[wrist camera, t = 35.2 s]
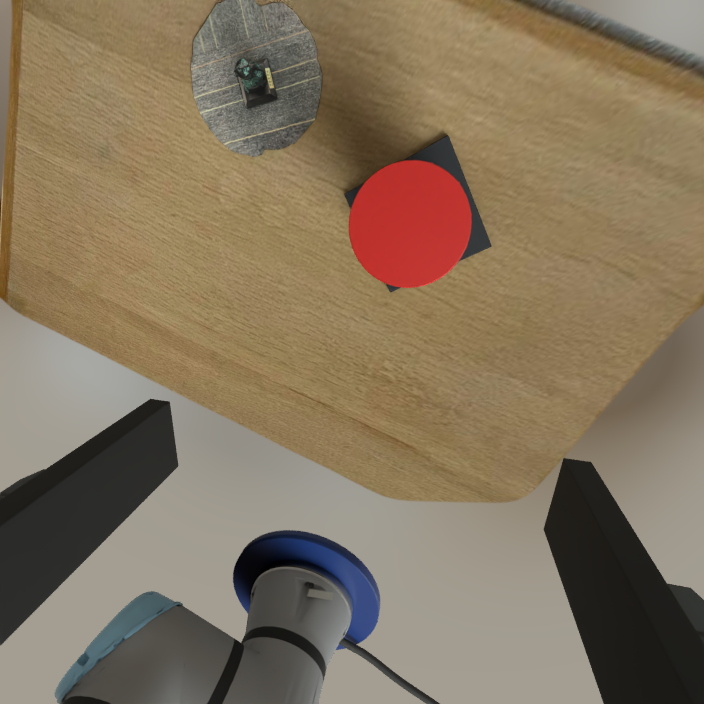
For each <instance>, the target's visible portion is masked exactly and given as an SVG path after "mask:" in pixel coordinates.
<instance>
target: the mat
mask: <svg viewBox="0 0 704 704" xmlns="http://www.w3.org/2000/svg"><path fill="white" fill-rule="evenodd" d="M405 160H420V161H426V162H430V163H431V162H432V163H433V164H435V165H437V166H440V167H441V168H443V169H444V170H446V171H447V172H449V173H450V174H451V175H452V176H453V177H454V178H455V179H456V180H457V181H458V182H460V183H459V184H460V185H461V187H462V188H463V190H464V192H465V194H466V196H467V199H468V202H469V205H470V210H471V213H472V215H471V221H472V224H471V233H470V237H469V241H468V244H467V248H466V249H465V251H464V253H463V255H462V257H461V258H460V260H462V259H465V258H467V257H469V256H471V255H473V254H476V253H478V252H480V251H482V250H484V249H487V248H489V247H491V244H490V241H489V238H488V236H487V233H486V231H485V228H484V226H483V223H482V221H481V218H480V215H479V213H478V210H477V208H476V205H475V203H474V200H473V197H472V195H471V192H470V190H469V187H468V185H467V182H466V180H465V177H464V174H463V172H462V169H461V167H460V164H459V162H458V159H457V157H456V154H455V151H454V149H453V146H452V144H451V141H450V139H449V136H448V135H447V136H446V137H444V138H442V139H440V140H439V141H437V142H435V143H433V144H432V145H430V146H428V147H426V148H425V149H423V150H421V151H419V152H418V153H416V154H414V155H412V156H411V157H409V158H407V159H405ZM405 160H404V161H405ZM363 184H364V183H363ZM363 184H361V185H360V186H358V187H356V188H354V189H353V190H351V191H349V192H347V193H346V194H345V197H346V199H347V201H348V203H349V205H350V208H352V205H353V202H354V199H355V197H356V195H357V193H358V192H359V190H360V189H361V187H362V186H363ZM460 260H459V261H460ZM387 286H388V288H389V291H390V292H392V291H394V290H397V289H399V288H401V287H396V286H392V285H389V284H387Z"/></svg>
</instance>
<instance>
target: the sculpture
mask: <svg viewBox="0 0 704 704" xmlns="http://www.w3.org/2000/svg"><path fill="white" fill-rule="evenodd" d="M316 56H317V48H316V46H315V41H314V39H313V38H312V36H311V33H310V31H309V30H308V29H307V28H306V27H304V26H303V24H302V22H301V20H300V19H299V17H298V16H297V15H296V14H295V12H294V11H293V10H292V9H291V8H289V7H288V6H286V5H285V4H284V3H276V2H275V3H270V4H267V5H263V6H259V5H258V4H257V3H256V2H255V1H254V0H224V1H223V2H221V4H220V3H218V4H216V6H215V7H214V9H213V11H212V12H211V14H210V15H209V17H208V19H207V20H206V22H205V23H204V25H203V26H202V28H201V30H200V31H199V33H198V34H197V36H196V37H195V39H194V40H193V56H192V61H191V72H192V78H193V80H192V87H193V93H194V98H195V101H196V103H197V106H198V109H199V112H200V113H201V115H202V118H203V119H204V121H205V122H206V123H207V124H208V127H209V129H210V130H211V131H212V132H213V133H214V134H215V136H216V137H217V139H218V140H220V142H222V143H223V144H224V145H225V146H227V147H228V148H229V149H230V150H231V151H234V152H236V153H240V154H245V155H249V156H252V157H254V156H255V157H256V156H257V155H258V156H259V155H262V153H263V151H264V150H265V149H274V150H275V149H280V148H285V147H287V146H289V145H290V144H291V143H293V144H295V143H296V141H297V140H298V139H299V138H300V136H301V135H302V134H303V133H304V132H305V130H306V129H307V128H308V127H309V126H310V125H311V123H312V122H313V121H314V120H315V119H316V112H317V109H318V107H319V101H320V98H319V97H320V95H321V94H320V93H321V85H322V73H321V68H320V66H319V63H318V61H317V58H316Z"/></svg>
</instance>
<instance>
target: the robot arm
mask: <svg viewBox="0 0 704 704" xmlns="http://www.w3.org/2000/svg"><path fill="white" fill-rule="evenodd" d="M177 467H178V460H177V453H176V445H175V438H174V430H173V423H172V415H171V408H170V402H168V401H161V400H154V399H150V400H148V401H147V402H145V403H144V404H142V405H141V406H139V407H138V408H136V409H135V410H133V411H132V412H130V413H129V414H127V415H126V416H124V417H123V418H121V419H120V420H118V421H117V422H116V423H114V424H112V425H111V426H110V427H108V428H106V429H105V430H103V431H102V432H101V433H99V434H98V435H96V436H95V437H93V438H92V439H90V440H89V441H87V442H86V443H84V444H83V445H82V446H80V447H78V448H77V449H75V450H74V451H72V452H71V453H69V454H68V455H66V456H65V457H63V458H62V459H60V460H59V461H57V462H56V463H54V464H53V465H51V466H50V467H48V468H47V469H45V470H44V469H43V470H41V471H39V472H37V473H34V474H32V475H30V476H27V477H25V478H23V479H20V480H19V481H17V482H16V483H14V484H13V485H11V486H10V487H8V488H7V489H5V490H4V491H2V492H1V493H0V645H1V644H2V643H3V642H4V641H5V640H6V639H7V638H8V637H9V636H10V635H11V634H12V633H13V632H14V631H15V630H16V629H17V628H18V627H19V626H20V625H21V624H22V623H23V622H24V621H25V620H26V619H27V618H28V617H29V616H30V615H31V614H32V613H33V612H34V611H35V610H36V609H37V608H38V607H39V606H40V605H41V604H42V603H43V602H44V601H45V600H46V599H47V598H48V597H49V596H50V595H51V594H52V593H53V592H54V591H55V590H56V589H57V588H58V587H59V586H60V585H61V584H62V583H63V582H64V581H65V580H66V579H67V578H68V577H69V576H70V575H71V574H72V573H73V572H74V571H75V570H76V569H77V568H78V567H79V566H80V565H81V564H82V563H83V562H84V561H85V560H86V559H87V558H88V557H89V556H90V555H91V554H92V553H93V552H94V551H95V550H96V549H97V548H98V547H99V546H100V545H101V543H102V542H104V541H105V540H106V538H108V536H110V534H111V533H112V532H114V530H115V529H116V528H117V527H118V526H119V525H120V524H121V523H122V522H123V521H124V520H125V519H126V518H127V517H128V516H129V515H130V514H131V513H132V512H133V511H134V510H135V509H136V508H137V507H138V506H139V505H140V504H141V503H142V502H143V501H144V500H145V499H146V498H147V497H148V496H149V495H150V494H151V493H152V492H153V491H154V490H155V489H156V488H157V487H158V486H159V485H160V484H161V483H162V482H163V481H164V480H165V479H166V478H167V477H168V476H169V475H170V474H171V473H172V472H173V471H174V470H175V469H176V468H177ZM544 531H545V534H546V537H547V540H548V543H549V546H550V549H551V552H552V555H553V557H554V560H555V563H556V566H557V569H558V572H559V575H560V578H561V581H562V583H563V586H564V589H565V592H566V595H567V598H568V601H569V604H570V607H571V610H572V613H573V616H574V618H575V621H576V624H577V627H578V630H579V633H580V636H581V639H582V642H583V644H584V647H585V650H586V653H587V656H588V659H589V662H590V665H591V668H592V671H593V673H594V676H595V679H596V682H597V685H598V688H599V691H600V694H601V697H602V699H603V703H604V704H704V600H703V599H702V598H701V597H700V596H699V595H698V594H697V593H695V592H694V591H693V590H692V589H691V588H688V587H682V586H677V585H672V584H667V583H666V582H665V580H664V579H663V577H662V575H661V573H660V572H659V570H658V569H657V567H656V566H655V564H654V562H653V561H652V559H651V557H650V556H649V554H648V553H647V551H646V549H645V548H644V546H643V545H642V543H641V541H640V540H639V538H638V537H637V535H636V533H635V532H634V530H633V529H632V527H631V525H630V524H629V522H628V521H627V519H626V517H625V516H624V514H623V513H622V511H621V509H620V508H619V506H618V504H617V503H616V501H615V500H614V498H613V497H612V495H611V493H610V492H609V490H608V488H607V487H606V485H605V484H604V482H603V480H602V479H601V477H600V476H599V474H598V472H597V471H596V469H595V468H594V466H593V464H592V463H591V462H585V461H579V460H572V459H566V458H564V459H563V462H562V466H561V470H560V473H559V477H558V481H557V484H556V487H555V491H554V495H553V498H552V502H551V505H550V509H549V512H548V516H547V519H546V523H545V527H544ZM250 603H251V605H250V609H249V614H248V621H247V627H246V633H245V636H244V638H243V641H242V643H240V642H239V641H237V640H235V639H234V638H232V637H231V636H229V635H228V634H226V633H225V632H223V631H221V630H220V629H218V628H217V627H215V626H213V625H212V624H210V623H209V622H207V621H206V620H204V619H202V618H201V617H199V616H198V615H196V614H194V613H193V612H191V611H190V610H188V609H187V608H185V607H184V606H183V604H182V603H180V602H174V601H172V600H170V599H169V598H167V597H165V596H163V595H161V594H159V593H157V592H146V593H143V594H142V595H140V596H138V597H137V598H135V599H134V600H133V601H131V602H130V603H129V604H128V605H127V606H126V607H125V608H124V609H123V610H121V612H119V613H118V614H117V615H116V616H115V617H114V618H113V620H112V621H111V622H110V623H109V624H108V625H107V626H106V627H105V628H104V629H103V630H102V631H101V633H99V635H98V636H97V637H96V638H95V639H94V640H93V641H92V642H91V644H90V645H89V646H88V647H87V648H86V650H85V652H84V654H82V655H81V656H80V657H79V659H78V660H77V661H76V662H75V663H74V664H73V665H72V667H71V668H70V669H69V670H68V672H67V673H66V674H65V676H64V677H63V678H62V680H61V681H60V683H59V685H58V687H57V689H56V691H55V697H56V698H57V702H58V703H59V704H318V702H319V698H320V694H321V689H322V684H323V680H324V676H325V671H326V668H327V665H328V663H329V662H330V660H331V658H332V656H333V654H334V652H335V650H336V648H337V646H338V644H340V645H342V646H344V647H345V648H347V649H349V650H351V651H352V652H354V653H356V654H358V655H360V656H362V657H363V658H364V659H366V660H368V661H369V662H370V663H371V664H373V665H374V666H375V667H377V668H378V669H379V670H380V671H382V672H383V673H384V674H385V675H387V676H388V677H389V678H390V679H392V680H393V681H394V682H396V683H397V684H399V685H400V686H401V687H403V688H404V689H406V690H407V691H408V692H410V693H411V694H413V695H414V696H416V697H417V698H419V699H420V700H422V701H423V702H425V703H426V704H439V703H438V702H436V701H435V700H434V699H432V698H431V697H429V696H428V695H426V694H425V693H423V692H422V691H420V690H419V689H417V688H416V687H414V686H413V685H411V684H410V683H408V682H407V681H405V680H404V679H403V678H401V677H400V676H399V675H397V674H396V673H395V672H393V671H392V670H391V669H389V668H388V667H387V666H386V665H384V664H383V663H382V662H381V661H380V660H378V659H377V658H376V657H374V656H373V655H372V654H370V653H369V652H367V651H366V650H365V649H363V648H361V647H360V646H358V645H356V644H354V643H352V642H350V641H349V640H347V639H345V638H344V636H345V634H346V632H347V630H348V628H349V626H350V622H351V617H352V612H353V604H352V599H351V596H350V594H349V592H348V590H347V589H346V587H345V586H344V585H343V584H342V582H341V581H340V580H339V579H338V578H336V577H335V576H334V575H333V574H331V573H330V572H329V571H327V570H325V569H324V568H322V567H320V566H317V565H315V564H312V563H309V562H306V561H301V560H292V559H287V560H279V561H276V562H273V563H270V564H269V565H267V566H266V567H264V568H263V569H262V570H261V572H260V573H259V575H258V577H257V579H256V581H255V583H254V585H253V588H252V592H251V599H250Z"/></svg>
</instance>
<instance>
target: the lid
mask: <svg viewBox="0 0 704 704" xmlns="http://www.w3.org/2000/svg"><path fill="white" fill-rule="evenodd" d="M459 183H460V182H458V181H457V180H456V179H455V178H454V177H453V176H452V175H451V174H450V173H449V172H447V171H446V170H444V169H443V168H441V167H440V166H437V165H435V164H433V163H432V162H431V163H430V162H426V161H420V160H405V161H398V162H396V163H393V164H390V165H388V166H386V167H384V168H382V169H380V170H379V171H377V172H376V173H374V174H373V175H372V176H371V177H370V178H369V179H368V180H367V181H366V182H365V183H364V184H363V186H362V187H361V189H360V190H359V192H358V193H357V195H356V197H355V199H354V202H353V205H352V208H351V212H350V217H349V235H350V241H351V245H352V248H353V251H354V253H355V255H356V257H357V259H358V261H359V262H360V263H361V265H362V266H363V267H364V268H365V269H366V270H367V272H368V273H370V274H371V275H372V276H373V277H375V278H376V279H378V280H380V281H382V282H384V283H386V284H389V285H392V286H396V287H402V288H412V287H419V286H424V285H427V284H430V283H432V282H434V281H436V280H438V279H440V278H441V277H443V276H444V275H446V274H447V273H448V272H449V271H450V270H451V269H452V268H453V267H454V266H455V265H456V264H457V262H458V261H459V260H460V258H461V257H462V255H463V253H464V251H465V249H466V248H467V244H468V241H469V237H470V233H471V224H472V221H471V215H472V213H471V210H470V205H469V202H468V199H467V196H466V194H465V192H464V190H463V188H462V187H461V185H460V184H459Z"/></svg>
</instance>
